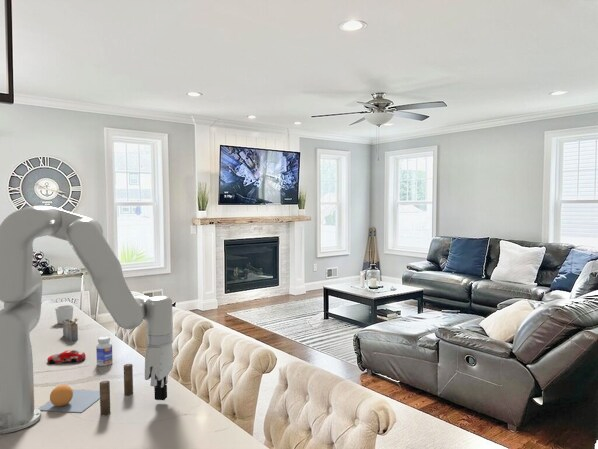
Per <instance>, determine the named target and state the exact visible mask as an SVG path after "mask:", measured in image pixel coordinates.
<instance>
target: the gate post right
mask: <svg viewBox="0 0 598 449" xmlns="http://www.w3.org/2000/svg"><path fill="white" fill-rule="evenodd" d="M133 367H134V366H133V363H126V364H124V365H123V391H124V392H123V395H124V396H130V395H133V394H134V373H133V371H134V370H133Z"/></svg>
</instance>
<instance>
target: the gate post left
mask: <svg viewBox="0 0 598 449" xmlns="http://www.w3.org/2000/svg"><path fill="white" fill-rule="evenodd" d="M110 389H111V386H110V380H103V381H100V382H99V391H100V399H99V407H100V409H99V410H100V416H101V417H102V416H103V415H105V416H108V415H110V414H111V394H110V393H111V390H110Z"/></svg>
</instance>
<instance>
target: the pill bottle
mask: <svg viewBox="0 0 598 449" xmlns="http://www.w3.org/2000/svg"><path fill="white" fill-rule="evenodd" d="M110 341H111V337H110V336H99V337H98V338H97V342H98V343H97V344H96V351H95V352H96V365H97V366H100V367H104V366H108V365H111V364H112V363H113V359H114V358H113V343H112V342H110Z"/></svg>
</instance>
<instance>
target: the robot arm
mask: <svg viewBox="0 0 598 449" xmlns="http://www.w3.org/2000/svg"><path fill="white" fill-rule="evenodd" d="M103 234H104V231H103V227H102V224H101V223H100V222H99V221H98V220H96V219H94V218H91V217H88V216H84V215H80V214H77V213H73V212H71V211H67V210H65V209H64V210H63V209H60V208H58V207H54V206H50V205H31V206H26V207H24V208H20V209H18V210H15V211H14V212H12V213H10V214H9V215H7V216H6V217H5V218H4V219H3V221H2V222H1V223H0V302H2V303H3V308H2V309H0V434H9V433H15V432H18V431H20V430H24V429H26V428H29V427H31V426H33V425H35V424H36V423H37V422H38V421H40V419H41V418H42V411H40V410H39V409H38V408H36V407H35V389H34V386H35V383H34V362H33V361H34V358H33V348H32V343H31V337H30V333H31V332H32V331H33V330H34V329H35V328H36V327H37V325H38V323H40V322H39V321H40V320H41V319H40V318H41V314H42V296H43V279H42V278H43V276H42V274H41V272H40V271H39V269H38V268H37V267H35V266H34V265H33V260H34V247H33V246H34V245H33V244H34V241H35V239H37V238H41V237H47V236H48V237H51V238H55V239H60V240H62V241H66V242H67V243H68V244H69V245H70V247H71V248H72V251H73V252H74V253H75V255H76V256H77V258H78V259H79V261H80V262H81V264H82V265H83V268H84V269H85V270H86V272H87V273H88V275H89V277H90V279H91V281H92V283H93V285H94V287H95V289H96V292H97V294H98V295H99V297H100V300H101V301H102V303H103V305H104V306H105V309H106V310H107V312H108V313H109V315H110V316H111V318H112V319H113V321H114V322H115V323H116V325H118V326H119V327H120V328H121V329H124V330H134V329H136V328H138V327H139V326H140V325H141V324H142V323H143V322H144V320H145V338H146V340H145V341H146V348H145V349H146V350H145V356H144V380H145V381H149V380H150V387H153V389H154V400H156V401H165V400H166V399H167V398H168V386H167V384H168V378H169V377H168V376H169V374H170V373H171V371H172V370H173V368H174V353H173V342H174V338H173V337H174V335H173V334H174V329H173V328H174V327H173V300H172V298H171V297H170V296H166V295H156V296H155V295H154V296H150V297H149V296H140V295H139V296H137V295H133V293H132V292H131V290H130V288H129V287H128V285H127V282H126V279H125V276H124V272H123V269H122V264H121V262H120V260H119V258H118V257H117V256H116V254H115V253H114V250H113V249H112V248H111V246H110V245H109V243H108V242H107V240H106V238H105V237H104V235H103Z"/></svg>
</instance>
